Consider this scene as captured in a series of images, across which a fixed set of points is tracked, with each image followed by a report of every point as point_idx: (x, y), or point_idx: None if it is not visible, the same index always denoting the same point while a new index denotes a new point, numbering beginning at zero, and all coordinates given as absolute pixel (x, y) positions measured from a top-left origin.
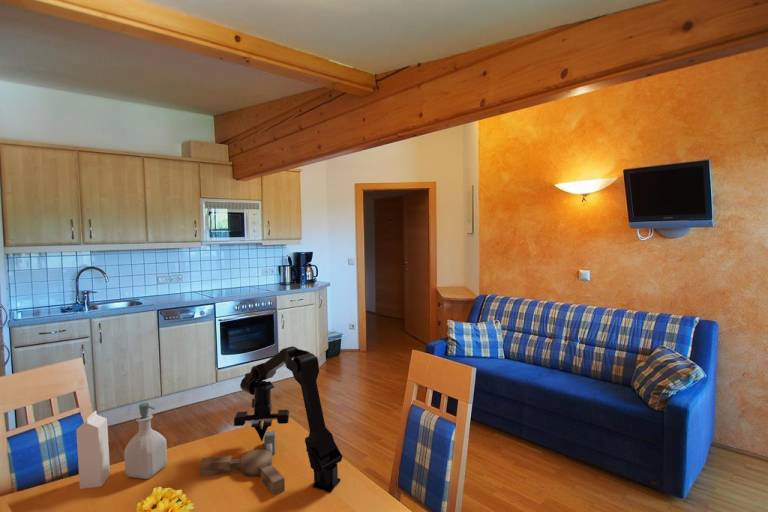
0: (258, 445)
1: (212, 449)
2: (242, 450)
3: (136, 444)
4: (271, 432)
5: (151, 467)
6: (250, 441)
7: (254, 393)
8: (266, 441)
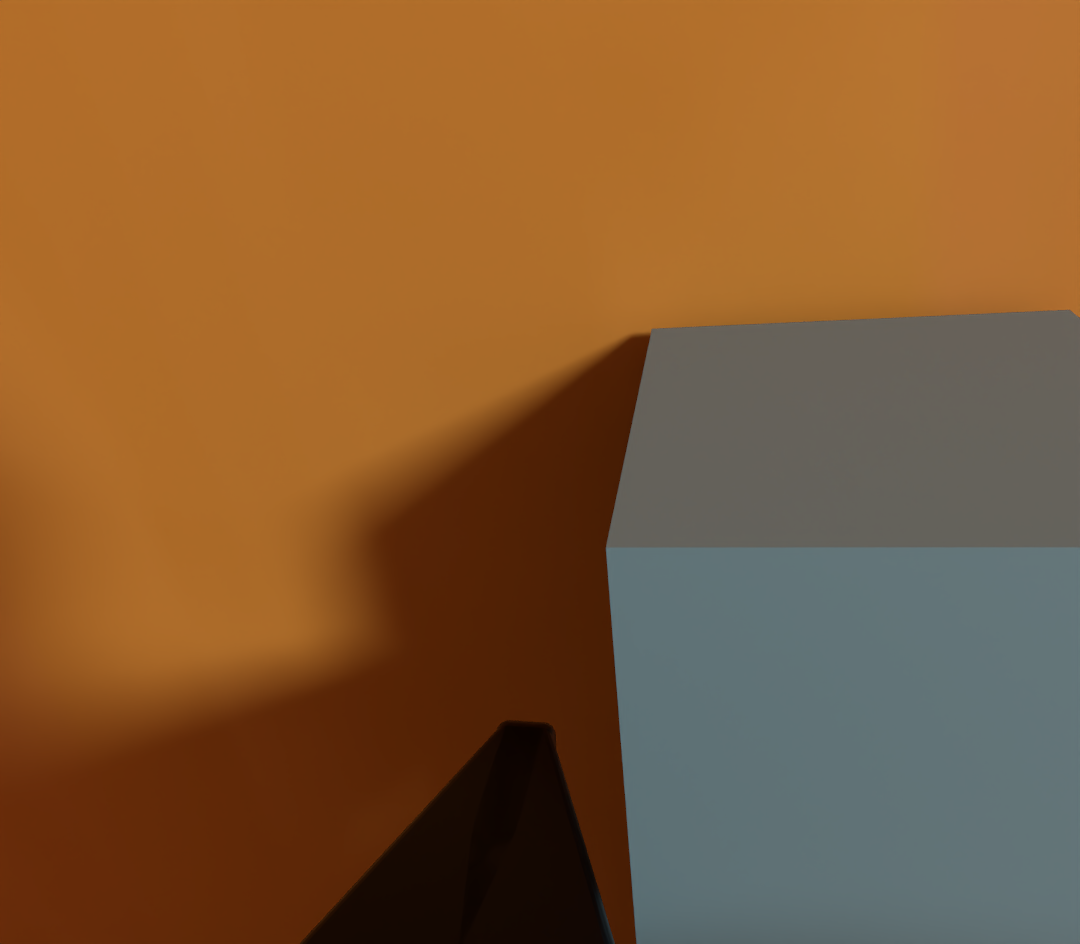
0: (430, 447)
1: None
2: (43, 610)
3: None
4: (1048, 728)
5: None
6: (62, 95)
7: None
8: None
